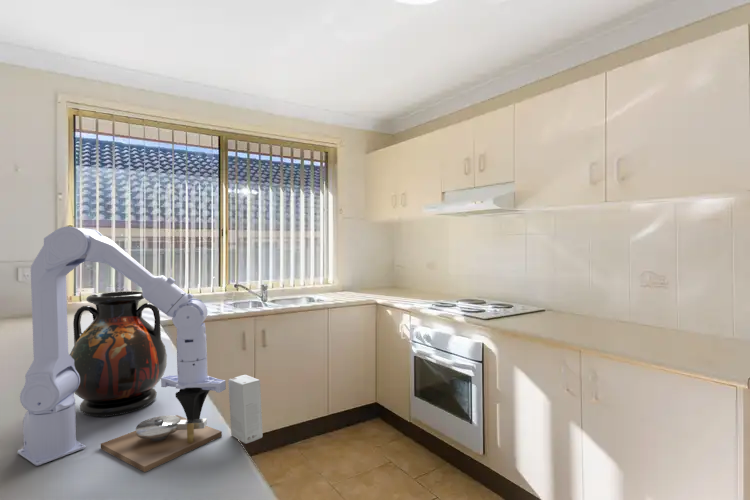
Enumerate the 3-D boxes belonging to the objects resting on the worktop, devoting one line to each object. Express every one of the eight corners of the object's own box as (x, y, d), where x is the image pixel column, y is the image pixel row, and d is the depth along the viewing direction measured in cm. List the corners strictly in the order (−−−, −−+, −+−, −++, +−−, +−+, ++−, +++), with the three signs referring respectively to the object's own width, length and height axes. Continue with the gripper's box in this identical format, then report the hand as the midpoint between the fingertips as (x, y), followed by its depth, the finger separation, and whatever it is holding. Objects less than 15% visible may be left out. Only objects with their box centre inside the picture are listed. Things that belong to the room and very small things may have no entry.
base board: (100, 448, 82) (100, 426, 82) (176, 419, 96) (176, 399, 95) (144, 472, 73) (144, 446, 73) (221, 436, 87) (221, 414, 87)
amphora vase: (48, 429, 91) (45, 301, 91) (87, 394, 112) (85, 291, 112) (157, 417, 97) (154, 297, 96) (175, 386, 118) (173, 287, 117)
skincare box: (263, 437, 86) (262, 379, 86) (243, 445, 83) (242, 384, 83) (248, 428, 90) (247, 373, 90) (228, 435, 87) (227, 378, 87)
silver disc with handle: (128, 440, 80) (128, 430, 80) (145, 422, 88) (145, 414, 88) (200, 435, 82) (199, 426, 82) (210, 418, 89) (210, 409, 89)
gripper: (148, 361, 85) (150, 427, 85) (209, 366, 81) (211, 435, 81) (174, 352, 92) (176, 413, 92) (231, 356, 88) (233, 419, 88)
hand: (194, 422), depth 87 cm, fingers closed, pressing on silver disc with handle
